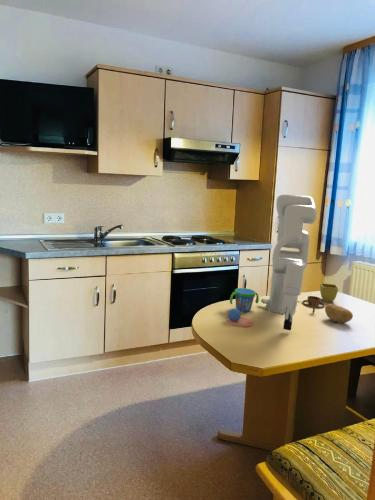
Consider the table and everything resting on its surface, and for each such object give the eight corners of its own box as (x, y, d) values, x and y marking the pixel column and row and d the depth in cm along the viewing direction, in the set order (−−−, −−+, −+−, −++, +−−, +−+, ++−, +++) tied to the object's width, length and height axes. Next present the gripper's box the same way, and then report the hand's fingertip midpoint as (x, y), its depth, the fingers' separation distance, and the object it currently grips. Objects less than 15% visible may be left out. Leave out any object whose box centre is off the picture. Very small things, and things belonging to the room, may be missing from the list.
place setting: (333, 308, 226) (334, 298, 225) (315, 315, 212) (316, 304, 211) (304, 300, 238) (306, 290, 237) (286, 306, 224) (287, 295, 223)
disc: (222, 322, 189) (222, 322, 189) (231, 315, 201) (231, 314, 201) (249, 329, 184) (249, 328, 184) (257, 320, 196) (257, 320, 196)
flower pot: (320, 301, 235) (322, 286, 234) (318, 297, 244) (320, 282, 242) (336, 303, 234) (338, 288, 232) (333, 299, 242) (335, 284, 241)
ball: (242, 315, 188) (234, 325, 190) (244, 312, 194) (237, 321, 196) (231, 308, 189) (224, 317, 191) (233, 304, 195) (227, 314, 197)
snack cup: (253, 306, 217) (255, 287, 215) (261, 313, 207) (263, 294, 205) (225, 306, 214) (227, 287, 212) (232, 313, 204) (234, 293, 202)
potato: (344, 328, 195) (346, 312, 193) (319, 318, 206) (321, 303, 204) (355, 325, 200) (358, 309, 199) (331, 315, 211) (333, 301, 210)
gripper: (287, 284, 188) (282, 322, 192) (279, 292, 175) (275, 332, 178) (303, 287, 185) (298, 326, 189) (297, 295, 172) (292, 336, 175)
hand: (287, 329), depth 183 cm, fingers closed
